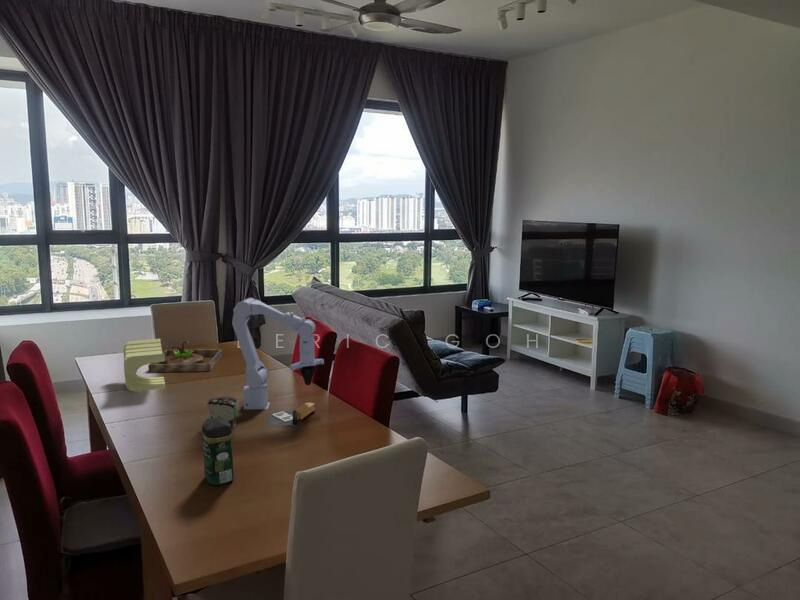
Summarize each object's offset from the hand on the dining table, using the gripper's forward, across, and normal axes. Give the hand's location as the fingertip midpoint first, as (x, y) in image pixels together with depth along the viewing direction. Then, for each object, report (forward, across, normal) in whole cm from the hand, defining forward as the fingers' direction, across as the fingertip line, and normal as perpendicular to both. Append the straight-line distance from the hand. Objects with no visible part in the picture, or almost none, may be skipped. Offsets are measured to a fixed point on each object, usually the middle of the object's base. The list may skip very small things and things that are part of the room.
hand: (307, 384), depth 244 cm
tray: (+10, -13, -4) cm, 17 cm away
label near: (+10, -13, -5) cm, 17 cm away
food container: (+11, -32, +6) cm, 34 cm away
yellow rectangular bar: (+9, -6, -6) cm, 13 cm away
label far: (+10, -13, 0) cm, 16 cm away
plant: (+11, -9, +100) cm, 101 cm away
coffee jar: (+11, -54, -34) cm, 65 cm away
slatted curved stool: (+11, -38, +72) cm, 83 cm away
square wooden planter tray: (+10, -9, +97) cm, 98 cm away
